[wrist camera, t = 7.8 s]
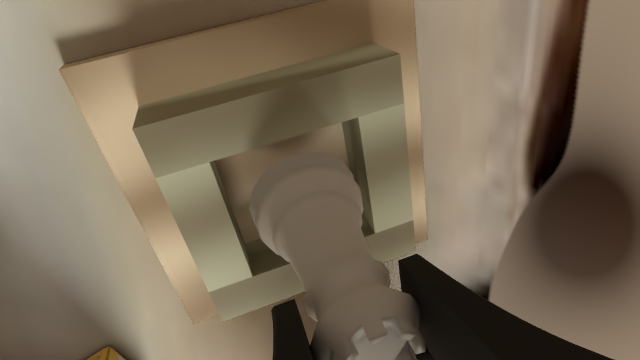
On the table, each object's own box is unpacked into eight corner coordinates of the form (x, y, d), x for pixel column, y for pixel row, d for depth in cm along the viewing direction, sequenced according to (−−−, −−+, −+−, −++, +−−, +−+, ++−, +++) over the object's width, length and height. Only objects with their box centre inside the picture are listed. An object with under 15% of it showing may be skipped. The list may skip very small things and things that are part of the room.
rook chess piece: (301, 123, 15) (397, 275, 9) (371, 182, 18) (486, 334, 11) (223, 205, 16) (259, 398, 10) (301, 250, 19) (370, 427, 12)
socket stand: (420, 231, 25) (451, 266, 22) (193, 313, 22) (194, 363, 20) (403, -20, 17) (446, -16, 15) (64, 64, 15) (38, 88, 12)
